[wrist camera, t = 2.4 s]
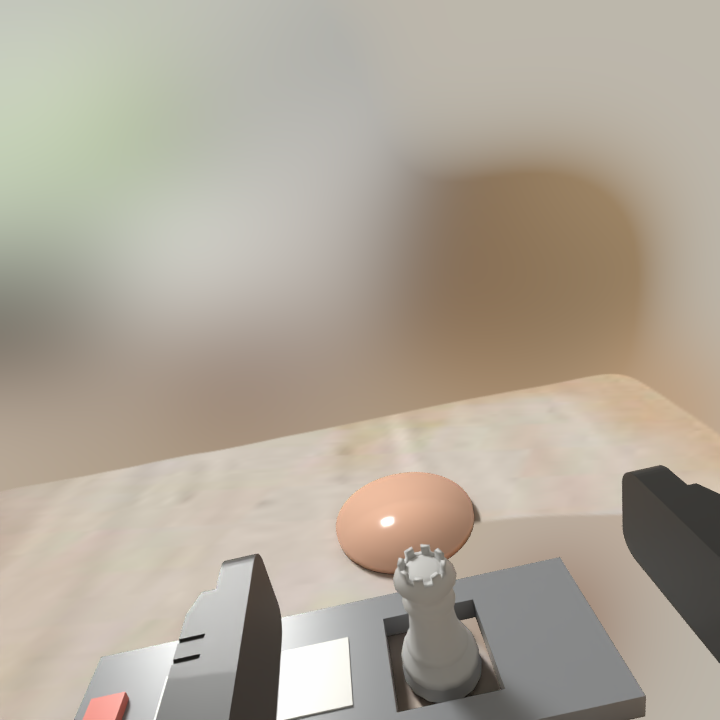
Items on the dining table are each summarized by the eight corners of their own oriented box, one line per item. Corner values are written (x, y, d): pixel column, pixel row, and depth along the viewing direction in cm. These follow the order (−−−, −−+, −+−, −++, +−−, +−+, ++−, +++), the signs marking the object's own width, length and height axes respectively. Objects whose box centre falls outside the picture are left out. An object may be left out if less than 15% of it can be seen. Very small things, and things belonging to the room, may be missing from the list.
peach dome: (411, 599, 33) (410, 593, 33) (310, 533, 41) (308, 527, 41) (501, 505, 40) (501, 499, 39) (399, 464, 47) (398, 459, 47)
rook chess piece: (391, 693, 28) (364, 587, 25) (419, 625, 31) (397, 525, 28) (471, 721, 26) (451, 608, 23) (491, 645, 29) (476, 538, 26)
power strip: (38, 848, 24) (19, 824, 23) (110, 673, 33) (97, 650, 32) (645, 716, 24) (645, 687, 23) (560, 574, 33) (559, 550, 32)
